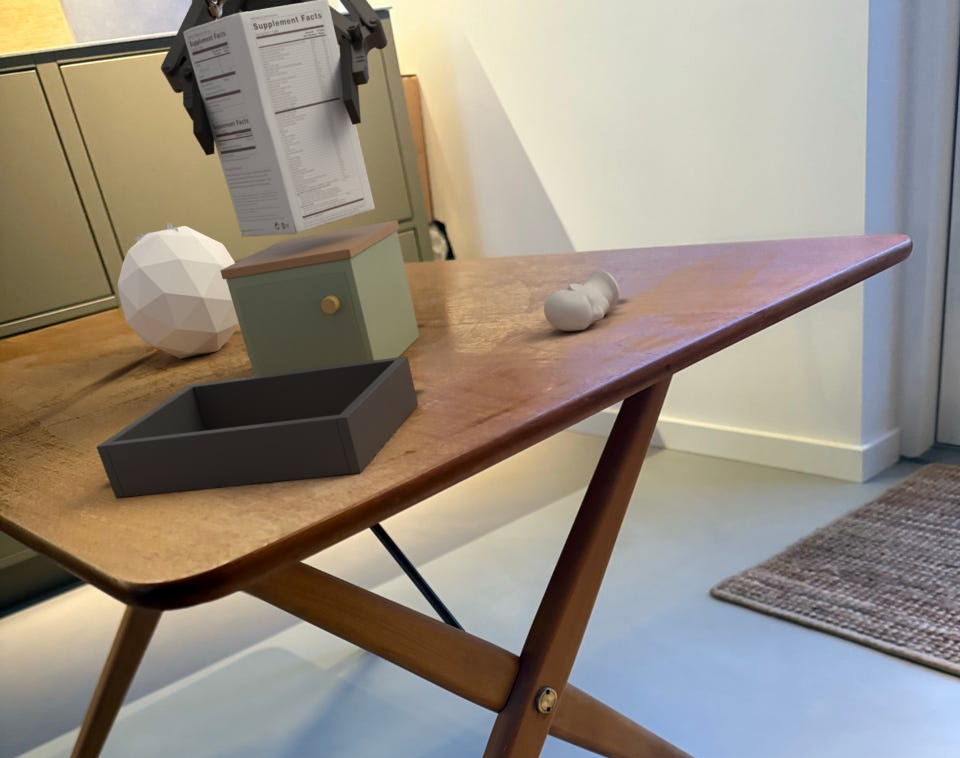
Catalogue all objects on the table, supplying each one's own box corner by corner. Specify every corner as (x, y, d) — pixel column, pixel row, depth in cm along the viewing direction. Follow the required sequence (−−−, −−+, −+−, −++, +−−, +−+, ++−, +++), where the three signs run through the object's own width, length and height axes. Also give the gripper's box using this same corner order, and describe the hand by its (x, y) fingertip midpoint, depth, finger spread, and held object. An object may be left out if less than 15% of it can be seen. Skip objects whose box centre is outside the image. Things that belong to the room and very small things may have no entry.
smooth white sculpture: (572, 350, 93) (534, 329, 96) (634, 323, 97) (595, 304, 100) (575, 304, 90) (536, 285, 93) (639, 279, 94) (599, 261, 97)
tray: (115, 498, 76) (95, 446, 74) (203, 430, 88) (188, 385, 86) (360, 473, 70) (346, 416, 68) (418, 405, 83) (407, 355, 81)
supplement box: (319, 214, 100) (271, 15, 92) (378, 209, 94) (332, -5, 86) (238, 238, 95) (178, 29, 87) (294, 235, 88) (236, 9, 80)
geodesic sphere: (72, 323, 116) (88, 207, 107) (159, 291, 127) (180, 183, 117) (175, 398, 115) (200, 288, 105) (254, 359, 125) (284, 255, 116)
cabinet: (251, 397, 95) (214, 272, 90) (311, 351, 108) (281, 240, 103) (376, 381, 92) (345, 250, 87) (422, 335, 105) (397, 219, 99)
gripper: (408, -57, 96) (427, 130, 90) (160, 1, 99) (162, 185, 94) (388, -135, 89) (407, 63, 83) (121, -70, 92) (121, 125, 86)
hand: (277, 128), depth 88 cm, fingers closed on supplement box, 13 cm apart
